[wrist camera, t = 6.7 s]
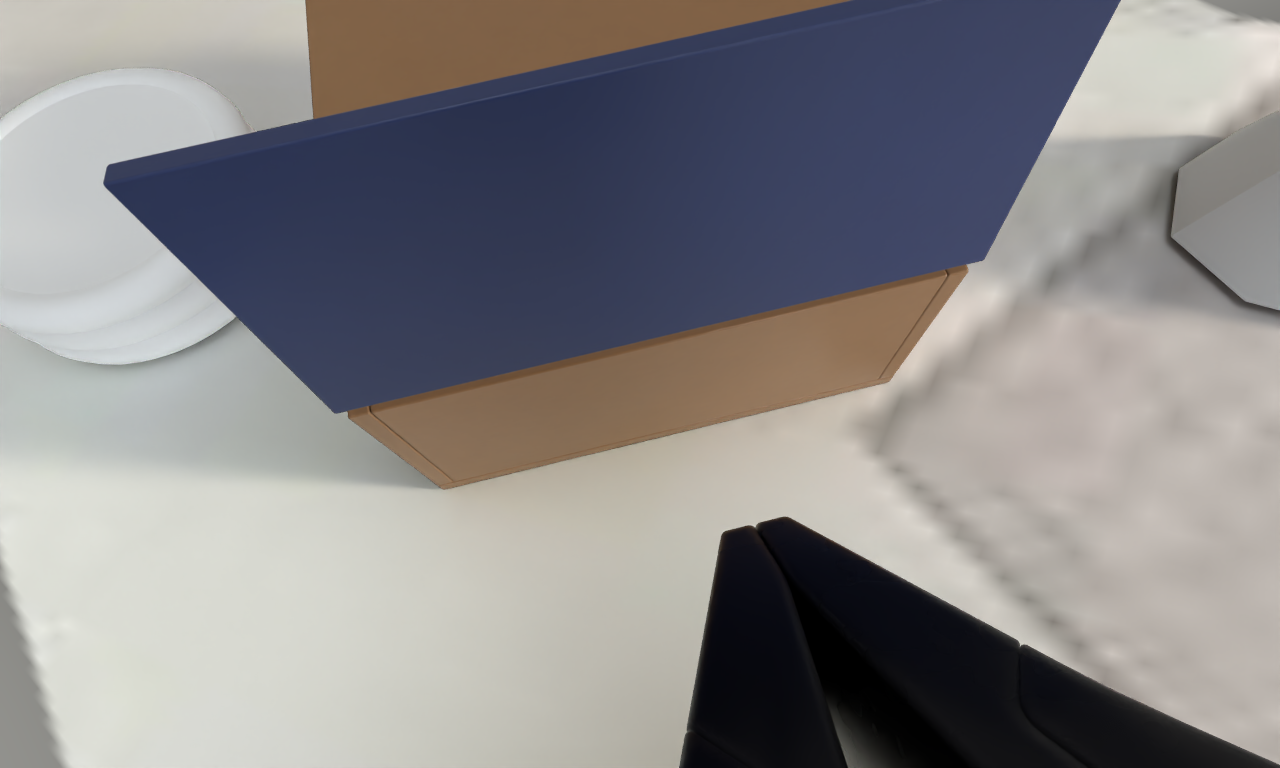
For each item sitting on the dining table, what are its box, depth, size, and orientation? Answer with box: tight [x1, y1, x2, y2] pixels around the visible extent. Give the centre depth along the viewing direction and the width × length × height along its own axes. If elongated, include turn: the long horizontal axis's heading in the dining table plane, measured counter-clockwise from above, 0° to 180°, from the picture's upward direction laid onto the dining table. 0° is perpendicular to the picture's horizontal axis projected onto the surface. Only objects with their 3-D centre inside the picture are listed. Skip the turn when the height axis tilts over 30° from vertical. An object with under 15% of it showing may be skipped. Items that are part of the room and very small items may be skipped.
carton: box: [305, 0, 968, 489], centre depth 20 cm, size 13×14×7 cm
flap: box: [103, 0, 1121, 413], centre depth 12 cm, size 6×14×1 cm
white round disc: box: [0, 68, 256, 365], centre depth 23 cm, size 10×10×4 cm
